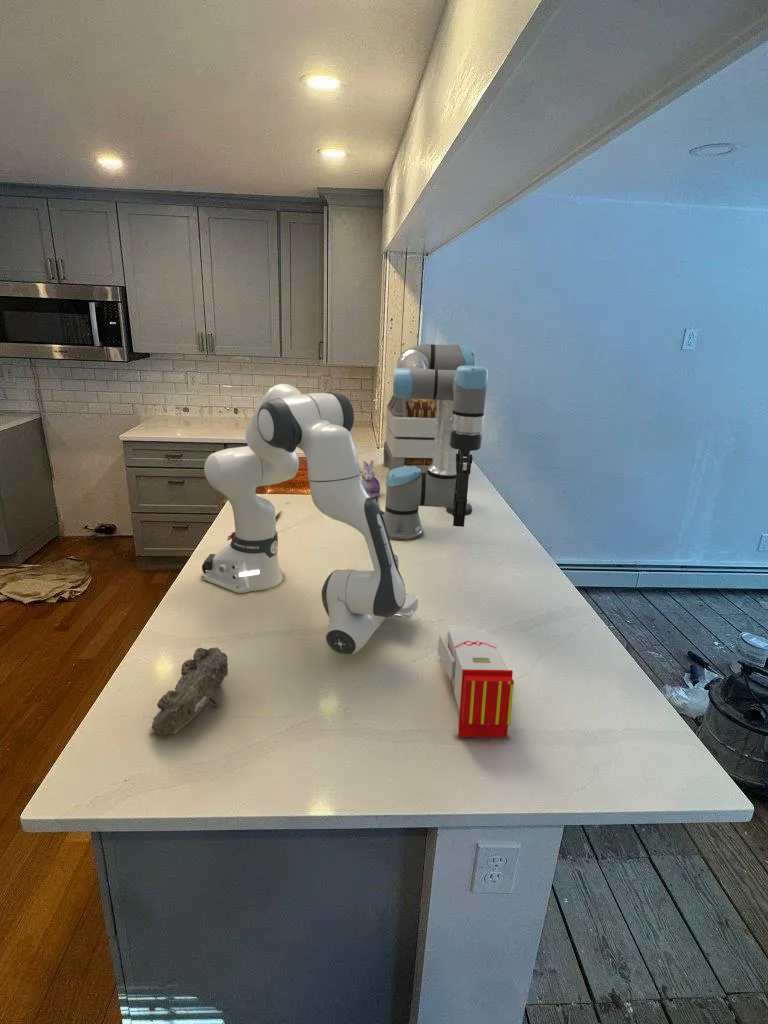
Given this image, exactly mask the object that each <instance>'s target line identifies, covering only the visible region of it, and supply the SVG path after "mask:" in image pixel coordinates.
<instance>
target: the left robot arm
mask: <svg viewBox="0 0 768 1024" xmlns="http://www.w3.org/2000/svg"><path fill="white" fill-rule="evenodd" d="M354 421H355V411H354V407H353V405H352V403H351V401H350V399H349V398H348V397H347V396H346V395H345V394H343V393H339V392H336V391H335V392H333V391H326V392H307V393H302V392H301V391H300V390H299V389H298V388H297V387H296V386H293V385H291V384H287V383H278V384H276V385H273V386H272V387H270V388H269V389H268V391H266V393H265V394H264V395H263V397H262V398H261V400H260V401H259V402H258V404H257V406H256V408H255V409H254V411H253V413H252V416H251V418H250V420H249V423H248V424H247V425H248V426H247V427H246V430H245V442H246V445H247V446H245V445H244V446H238V447H237V446H236V447H229V448H228V447H227V448H225V449H221V450H218V451H216V452H213V453H210V454H209V455H208V456H207V458H206V460H205V462H204V469H203V471H204V476H205V479H206V481H207V483H208V484H209V485H210V486H211V487H212V488H213V489H214V490H216V491H218V492H219V493H221V494H222V495H224V497H226V499H227V500H228V502H229V503H230V506H231V508H232V514H233V519H234V520H233V521H234V531H233V532H232V533H231V534H230V535H228V536H226V538H227V540H226V541H227V542H228V541H230V543H229V544H228V545H227V546H225V547H223V548H222V549H221V550H220V551H219V552H217V553H209V555H208V556H207V557H206V558H205V559H204V561H203V563H202V565H201V570H202V573H203V578H202V579H203V580H204V581H206V582H209V583H211V584H214V585H216V586H219V587H222V588H224V589H226V590H230V591H232V592H234V593H237V594H244V593H245V594H246V593H249V592H253V591H254V592H255V591H264V590H268V589H271V588H274V587H276V586H278V585H279V584H281V582H282V581H283V579H284V576H283V574H282V570H281V567H280V561H279V556H278V551H279V537H278V531H277V522H276V521H277V519H276V516H277V514H276V509H275V506H274V504H273V503H272V502H271V501H270V500H268V499H266V498H265V497H262V496H258V494H257V491H256V490H257V488H258V487H264V486H270V485H277V484H280V483H284V482H286V481H289V480H291V479H293V478H295V477H296V475H297V473H298V472H299V468H300V458H299V455H298V452H297V451H296V449H297V448H298V449H300V450H301V451H302V452H303V453H304V456H305V459H306V465H307V473H308V474H307V477H308V485H309V491H310V496H311V499H312V502H313V504H314V506H315V507H316V509H317V510H318V511H319V512H321V513H322V514H323V515H325V516H326V517H328V518H330V519H332V520H334V521H338V522H341V523H343V524H345V525H348V526H349V527H352V528H353V529H355V530H356V531H358V533H360V534H361V535H362V536H363V538H364V540H365V543H366V546H367V550H368V552H369V556H370V560H371V563H372V567H373V570H362V569H361V570H358V569H334V570H333V571H332V572H330V574H329V575H328V576H327V577H326V580H325V581H324V582H323V586H322V587H321V601H322V606H323V608H324V611H325V612H326V615H327V617H328V625H327V627H326V631H325V641H326V644H327V646H328V647H329V648H330V649H331V650H332V651H333V652H335V653H337V654H339V655H345V656H350V655H353V654H356V653H358V652H359V651H360V650H361V649H362V648H363V647H364V646H365V645H366V644H367V643H368V641H370V639H371V637H372V636H373V634H374V632H375V631H377V629H378V628H379V627H380V626H381V624H382V623H383V621H384V620H385V618H387V619H389V618H392V619H397V620H404V621H405V620H407V619H410V618H411V617H412V616H413V615H414V614H415V613H416V612H417V610H418V607H419V599H418V598H419V597H418V596H417V595H414V594H410V593H407V592H406V586H405V582H404V579H403V577H402V573H401V572H400V569H399V568H398V567H397V564H396V561H395V557H394V554H395V553H394V549H393V546H392V543H391V539H390V538H389V535H388V532H387V528H386V525H385V522H384V518H383V515H384V514H382V512H381V511H382V509H381V508H380V505H379V502H378V503H377V502H376V499H373V498H370V497H369V495H368V494H367V492H366V491H365V489H364V487H363V484H362V481H363V480H362V476H361V470H360V463H359V458H358V454H357V450H356V445H355V442H354V440H353V437H352V434H351V431H352V429H353V426H354V423H355V422H354Z"/></svg>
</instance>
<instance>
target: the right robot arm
mask: <svg viewBox="0 0 768 1024" xmlns="http://www.w3.org/2000/svg"><path fill="white" fill-rule="evenodd" d="M488 376H489V371H488V369H487V367H485V366H479V365H477V362H476V353H475V350H474V349H473V347H471V346H467V345H460V344H432V343H423V344H417V345H414V346H412V347H409V348H407V349H406V350H404V351H403V352H402V353H401V354H400V355H399V357H398V358H397V362H396V368H395V369H394V370H393V381H392V382H393V383H392V384H393V385H392V396H393V395H394V397H396V398H404V399H433V400H437V413H436V425H435V438H434V451H433V463H432V464H431V465H430V466H429V465H428V466H427V472H422V469H421V468H420V467H419V466H407V465H405V466H404V467H399V468H395V469H393V470H391V471H390V470H389V471H388V473H387V475H386V482H385V486H386V488H385V489H386V490H385V504H384V505H385V507H384V508H385V509H384V511H383V510H381V512H382V515H383V518H384V522H385V525H386V528H387V532H388V535H389V539H390V540H395V541H410V540H415V539H418V538H420V537H421V536H422V535H423V525H422V524H421V518H420V515H419V507H433V508H434V507H435V508H445V509H446V507H447V504H448V503H451V502H455V509H454V515H452V517H453V520H452V527H459V528H464V527H465V521H466V520H465V519H466V516H465V511H466V502H467V503H468V493H469V490H468V489H469V482H470V481H469V479H470V475H471V469H472V464H473V459H474V458H473V454H470V453H471V452H472V451H479V450H480V449H481V448H482V438H483V435H482V434H481V433H482V432H483V430H484V420H485V419H484V418H485V406H486V397H487V391H488V390H487V389H488V384H489V380H488V378H489V377H488ZM378 497H379V496H377V495H376V497H375V501H376V502H377V503H378V504H379V501H378V499H379V498H378Z"/></svg>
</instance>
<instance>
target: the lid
mask: <svg viewBox="0 0 768 1024" xmlns="http://www.w3.org/2000/svg"><path fill="white" fill-rule="evenodd" d="M454 509H455V502H451V503H448V504H447V507H446V508H445V511H446V513H447V514H449V515H452V516H453V515H454ZM472 513H473V506H472V505H471V504H469V503H468V502H467V503H466V511H465V517H466V516H471V515H472Z"/></svg>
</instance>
